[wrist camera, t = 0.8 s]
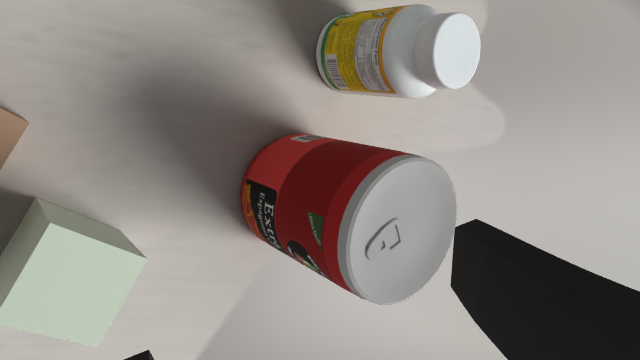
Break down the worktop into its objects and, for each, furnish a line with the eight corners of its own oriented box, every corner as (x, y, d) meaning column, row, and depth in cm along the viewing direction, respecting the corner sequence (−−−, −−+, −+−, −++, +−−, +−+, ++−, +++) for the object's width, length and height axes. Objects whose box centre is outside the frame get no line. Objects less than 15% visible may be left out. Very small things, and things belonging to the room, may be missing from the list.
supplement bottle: (303, 78, 31) (411, 82, 24) (326, 0, 31) (441, -21, 24) (361, 103, 35) (472, 113, 27) (382, 32, 35) (498, 22, 27)
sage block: (77, 304, 26) (98, 347, 22) (-14, 279, 23) (-9, 323, 19) (119, 229, 26) (147, 258, 22) (35, 196, 24) (50, 222, 20)
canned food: (212, 189, 29) (318, 240, 20) (300, 106, 32) (427, 121, 23) (277, 266, 33) (389, 337, 24) (350, 187, 36) (474, 226, 27)
